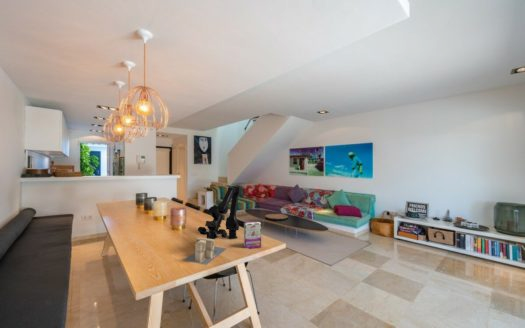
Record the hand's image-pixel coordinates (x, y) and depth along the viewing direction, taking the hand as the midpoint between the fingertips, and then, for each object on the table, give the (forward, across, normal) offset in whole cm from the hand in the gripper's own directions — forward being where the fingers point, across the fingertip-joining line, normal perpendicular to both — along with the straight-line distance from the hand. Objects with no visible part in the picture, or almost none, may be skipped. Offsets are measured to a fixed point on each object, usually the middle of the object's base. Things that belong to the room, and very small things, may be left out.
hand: (207, 244), depth 129 cm
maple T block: (+8, 0, +1) cm, 8 cm away
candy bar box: (-11, +21, +21) cm, 31 cm away
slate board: (+4, -1, +5) cm, 7 cm away
